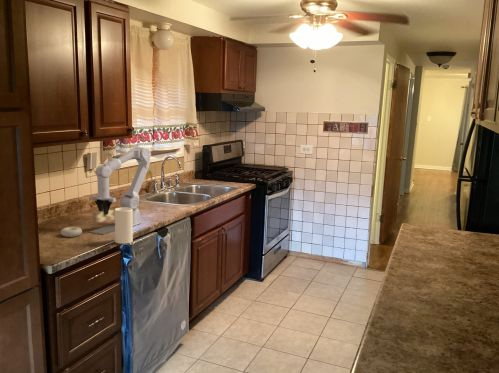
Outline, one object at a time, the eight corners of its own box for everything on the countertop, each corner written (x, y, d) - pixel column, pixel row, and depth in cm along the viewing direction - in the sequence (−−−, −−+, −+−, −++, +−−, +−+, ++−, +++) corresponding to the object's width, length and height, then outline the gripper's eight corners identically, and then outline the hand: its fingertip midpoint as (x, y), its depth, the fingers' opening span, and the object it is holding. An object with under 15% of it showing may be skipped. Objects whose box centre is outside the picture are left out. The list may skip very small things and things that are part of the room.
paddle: (110, 218, 244) (111, 209, 244) (114, 219, 243) (115, 210, 243) (92, 221, 232) (93, 212, 231) (96, 222, 231) (96, 212, 230)
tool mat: (112, 225, 247) (112, 224, 247) (125, 227, 244) (125, 226, 244) (89, 232, 231) (89, 231, 231) (103, 235, 227) (103, 234, 227)
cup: (126, 238, 223) (125, 206, 221) (136, 241, 218) (136, 209, 216) (111, 241, 217) (111, 208, 215) (121, 244, 212) (121, 211, 210)
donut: (86, 227, 228) (73, 232, 218) (86, 233, 229) (73, 238, 219) (69, 225, 231) (56, 229, 221) (69, 231, 231) (56, 236, 222)
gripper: (87, 188, 234) (87, 213, 236) (109, 191, 228) (109, 217, 231) (96, 186, 240) (97, 211, 243) (118, 189, 235) (118, 214, 237)
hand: (103, 213), depth 237 cm, fingers closed on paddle, 2 cm apart
